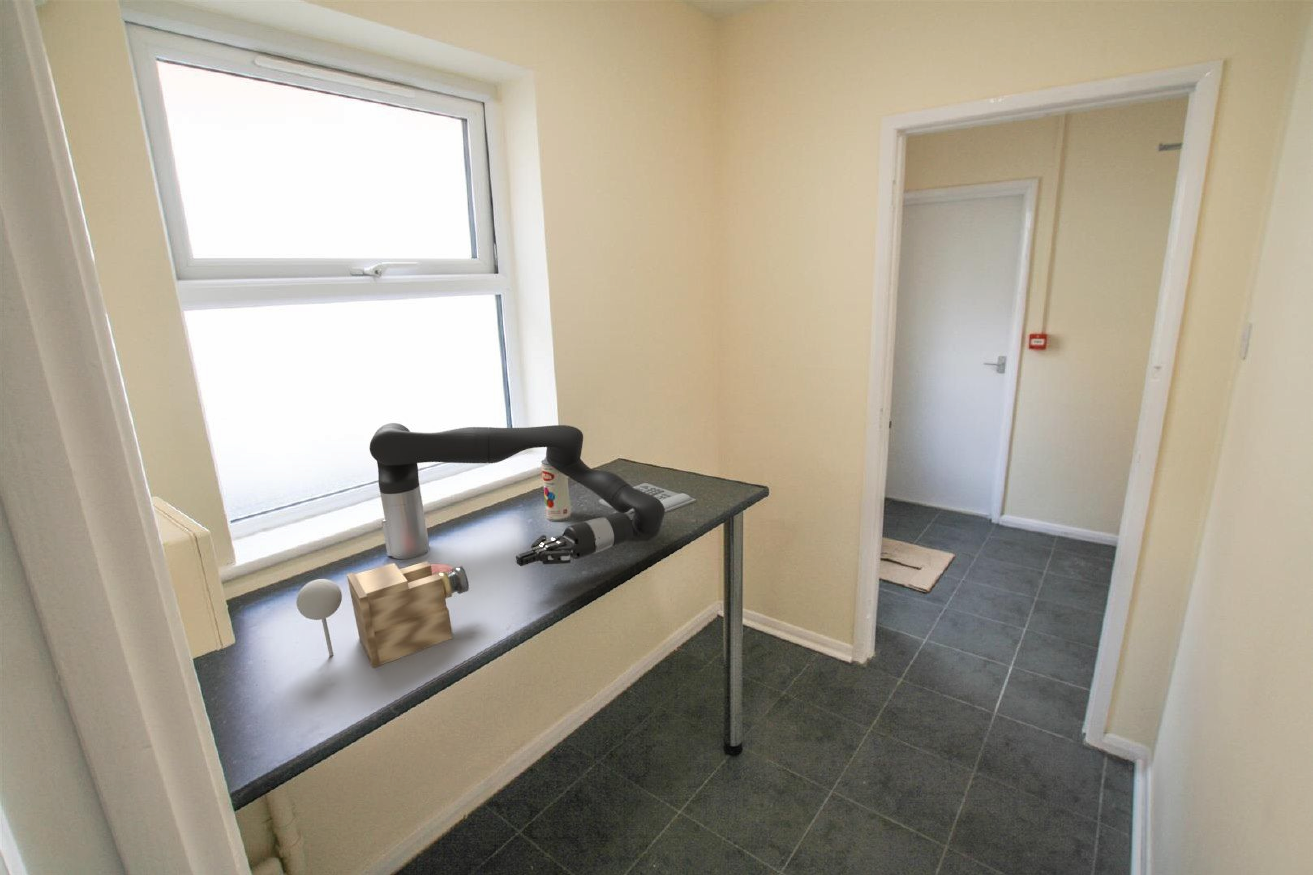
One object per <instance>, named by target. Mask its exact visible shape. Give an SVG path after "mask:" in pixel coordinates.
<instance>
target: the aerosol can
mask: <svg viewBox="0 0 1313 875" xmlns="http://www.w3.org/2000/svg"><path fill="white" fill-rule="evenodd" d="M540 466H541V474H542V475H541V476H542V484H543V492H544V493H543V495H544V504H545V512H546V519H547V521H549V522H552V523H554V522H556V523H559V522H564V521H567V520H569V519H570V518H571V517H572V511H571V502H570V500H571V499H570V492H569V491H570V490H569V481H568V480H569V479H568V476H566V475H564V474H563V473H561V472H559V471H557V470H556V469H554V468H553V467H552V466H551V465H550V464H549V463H548V462H547V459H546V456H545V457H544V459H543V460H541V465H540Z"/></svg>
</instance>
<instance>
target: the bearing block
mask: <svg viewBox="0 0 1313 875" xmlns="http://www.w3.org/2000/svg"><path fill="white" fill-rule="evenodd" d="M430 564H431V563H429V562H428V560H426V561H423V562H419V563H417V564H413V565H410V566H409V565H408V566H405V567H402V568H399V567H398V566H397V565H396V563H394V562H393V563H389V564H386V565H382V566H378V567H375V568H373V569H369V570H365V571H362V572H359V573H355V572H354V571H353V572H350V573H347V574H346V578H347V582H348V588H349V592H350V593H349V594H350V597H351V598H350V599H351V603H352V604H351V605H352V607H353V614H354V617H355V623H356V629H357V634H358V638H359V641H360V643H361V645H362V647H363V650H364V649H365V650H364V652H365V654H366V656H367V658H368V660H369V662H370V664H371V666H373V667H372V668H376V666H377V667H379V666H382V665H385V664H387V663H389V662H392V661H395V660H398V659H401V658H403V657H406V656H408V655H411V654H414V653H417V652H419V651H421V650H424V649H428V648H429V647H433V646H435V645H438V644H441V643H444V642H446V641H449V640H451V639H453V638H454V636H453V629H452V623H451V622H452V621H451V616H450V610H449V607H448V606H447V601H446V599H447V598H446V599H445V593H444V587H443V580H442V577H441V576H440V575H439V574H435V575H432V570H431V565H430Z"/></svg>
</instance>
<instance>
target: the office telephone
mask: <svg viewBox="0 0 1313 875" xmlns="http://www.w3.org/2000/svg"><path fill="white" fill-rule="evenodd" d="M632 487H633V488H634V489H637V490H639V491H642V492H644V493H646V494H649V495H651V496H654V497H656V498H657V499H659V500H660V501H661V503H662V504H663V506H664V508H665V513H668V512H670V511H671V512H672V511H674V510H676V509H679V508H682V507H684V506H687V505H690V504H693V503H696V502H697V500H696V498H694V497H691V496H690V495H689V494H687V493H684V492H683V493H678V492H674V491H672V490H668V489H665V488H662V487H659V486H655V485H654V484H650V483H647V482H643V483H641V484H637V485H635V486H632ZM598 503H599V504H600V505H601V504H602V505H604V506H606V507H609V508H611V506H610V505H609V504H608V503H607V502H606V501H604V500H603V499H602V498H601V499H599V500H598ZM611 509H614V508H613V507H612V508H611ZM632 513H635V510H634V509H633V508H632V509H631V510H630V511H628V512H626V513H625V514H629V515H630V514H632Z"/></svg>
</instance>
